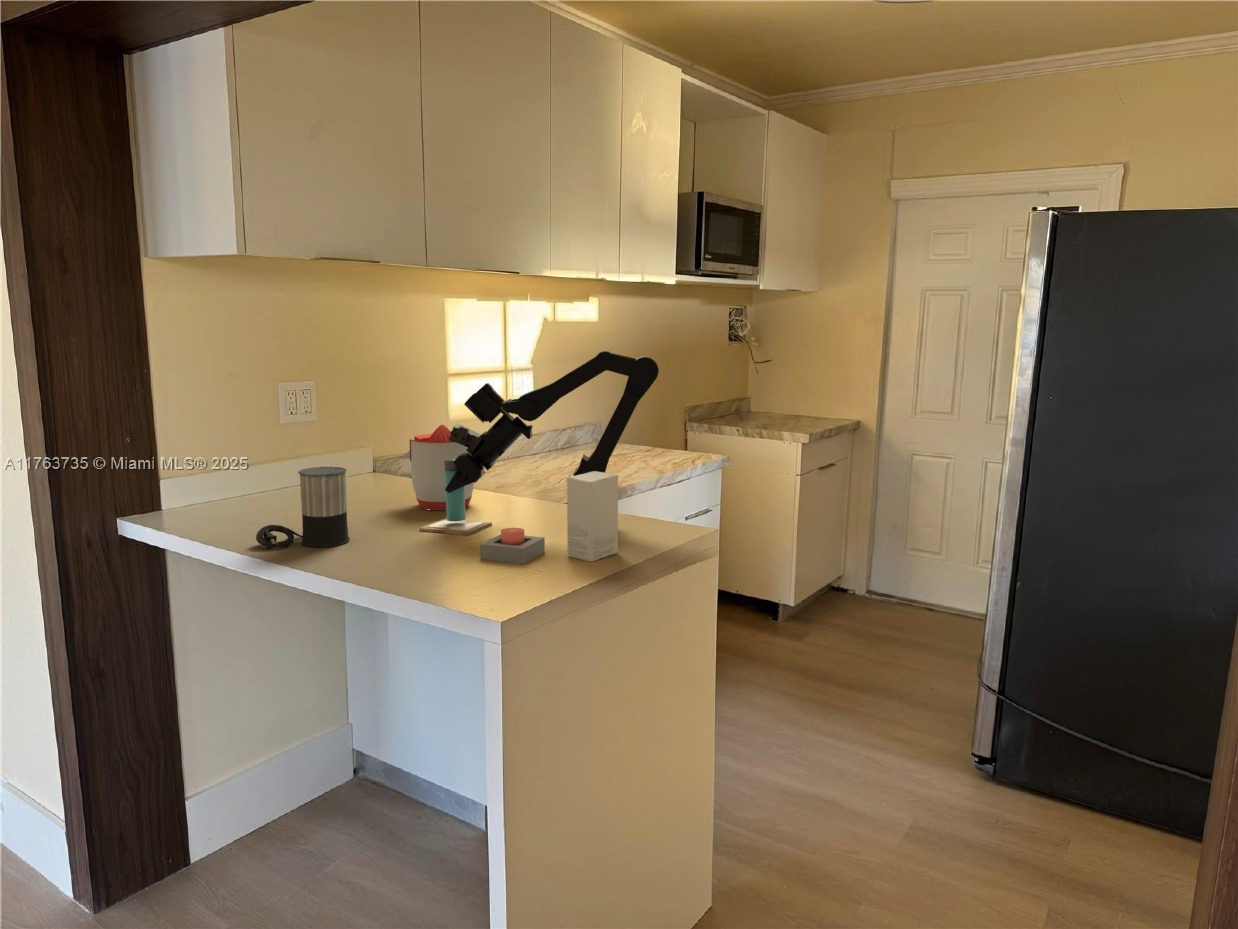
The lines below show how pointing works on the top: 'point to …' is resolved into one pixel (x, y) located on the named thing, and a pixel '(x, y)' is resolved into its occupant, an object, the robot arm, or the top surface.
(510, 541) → the button
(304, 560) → the top surface
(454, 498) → the marker
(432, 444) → the citrus juicer
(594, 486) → the skincare box
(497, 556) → the button box
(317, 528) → the milk frother
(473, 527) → the brown picture frame
